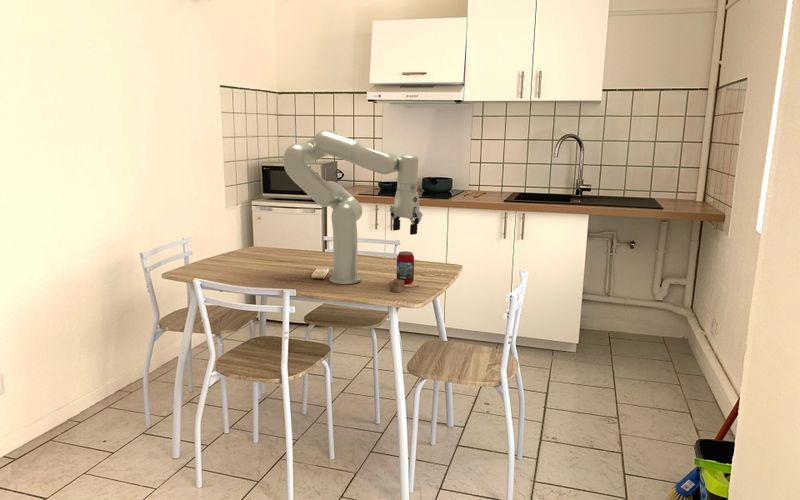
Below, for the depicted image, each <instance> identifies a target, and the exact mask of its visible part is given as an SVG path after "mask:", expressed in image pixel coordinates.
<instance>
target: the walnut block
mask: <svg viewBox="0 0 800 500" xmlns="http://www.w3.org/2000/svg"><path fill="white" fill-rule="evenodd" d="M404 291H405V288H404V280H398V279H397V278H395V279H391V280H390V281H389V292H391V293H396V294H400V293H402V292H404Z"/></svg>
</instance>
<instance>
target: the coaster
mask: <svg viewBox="0 0 800 500" xmlns="http://www.w3.org/2000/svg"><path fill="white" fill-rule="evenodd" d="M418 286H419V282H418V281H417V280H414V281H413V282H412V283H410V284H404V289H405V288H406V289H407V288H408V289H409V288H415V287H418Z"/></svg>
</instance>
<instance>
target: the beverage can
mask: <svg viewBox="0 0 800 500" xmlns="http://www.w3.org/2000/svg"><path fill="white" fill-rule="evenodd" d="M414 273H415V255H414V254H413V252H412V251H408V250H407V251H405V250H404V251H403V250H402V251H399V252H398V254H397V256H396V279H398V280H404V284H410V283H412V282H413V281H415V280H414V279H415V276H414V275H415V274H414Z"/></svg>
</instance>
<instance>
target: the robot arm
mask: <svg viewBox="0 0 800 500" xmlns="http://www.w3.org/2000/svg"><path fill="white" fill-rule="evenodd" d="M327 156H332V157H335V158H337V159H339V160H340V159H341V160H343V161H346V162H349V163H350V164H353V165H356V166H358V167H361V168H363V169H366V170H369V171H372V172H375V173H378V174H381V175H389V174H392V173H397V182H396V183H397V185H396V192H395V196H394V201H393V202H394V203H393V205H392V206H391V207H389V211H390V216H391V219H392V221H393V222H392V231H400V229H401V218H404V219H408V220H409V221H410V223H411V224H410V225H409V227H410V228H409V234H410V235H411V236H413V235H417V234H418V225H419V223H420V222H421V221H422V217H423V216H424V215H423V212H421V211H420V197H419V192H418V188H419V187H418V173H419V158H418V156H417V155H413V154H397V153H393V152H392V153H391V152H389V153H383V152H380V151H378V150H374V149H372V148H369V147H367V146H365V145H363V144H362V143H361V142H360V141H358V140H356V139H353V138H350V137H347V136H343V135H342V134H339V133H338V132H337V131H334V130H331V129H330V130H328V129H327V130H326V129H325V130H320V131H319V132H317V133H316V134H315V135H314V137H313V138H311V139H309V140H307V141H304V142H296V143H292V144H291V145H289V146H288V147H287V148H286V150H285V151H284V154H283V161H282V162H283V167H284V170H285V172H286V174H287V176H288V177H289V178H290V179H291V180H292V181H293V182H294V184H296V185H297V186H298V187H299V188H300V189H302V191H303V192H304V193H305V194H306V195H307V196H309V197H310V198H311V199H312V200H313V201H314V202H315V203H316V204H317V205H319V206H320V207H323V208H328V207H330V208H331V209H332V212H331V224H332V225H331V226H332V245H333V249H332V250H333V251H332V252H333V257H332V258H333V261H332V263H333V264H332V265H333V266H332V268H330V269H329V272H331V273H332V275H331V276H330V277H329V282H331V284H332V283H333V284H337V285H338V284H339V285H353V284H357V283H360V282H361V281H362V277H361V276H360V275H358V244H359V243H358V226H357V221H359V219H361V218H362V215H363V207H362V204H361V203H360V202H359V200H358V199H356V198H355V197H354V196H353V195H352V194H351V193H350V192H348V191H347V189H345V188H344V187H343V186H342V185H341V184H339V183H338V182H336V181H332V180H328V181H327V180H325V179H324V178H323V177H322V176H320V175H319V173H317V171H316V170H314V169H312V168H311V167H309V165H308V164H312V163H314V162H316V161H318V160H320V159H322V158H324V157H327Z"/></svg>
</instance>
